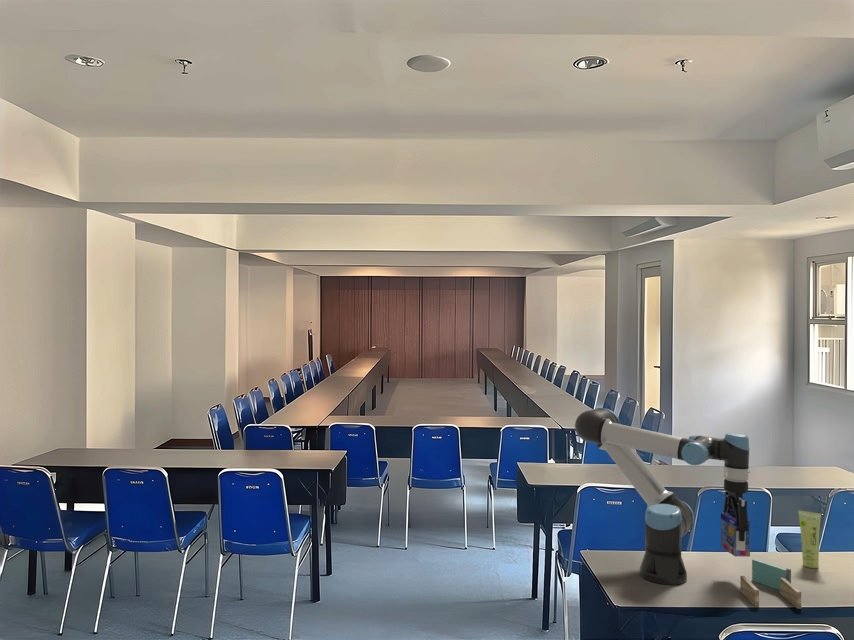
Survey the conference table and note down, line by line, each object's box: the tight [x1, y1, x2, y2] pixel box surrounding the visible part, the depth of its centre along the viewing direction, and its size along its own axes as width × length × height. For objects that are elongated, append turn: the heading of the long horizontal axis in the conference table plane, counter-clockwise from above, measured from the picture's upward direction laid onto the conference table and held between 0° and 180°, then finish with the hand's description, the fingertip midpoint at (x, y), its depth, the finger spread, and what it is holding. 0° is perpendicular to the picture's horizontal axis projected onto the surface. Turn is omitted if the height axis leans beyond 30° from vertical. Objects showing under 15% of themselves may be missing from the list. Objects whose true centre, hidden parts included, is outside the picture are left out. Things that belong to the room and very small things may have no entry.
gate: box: [751, 558, 792, 591], centre depth 217 cm, size 13×1×8 cm, turn 29°
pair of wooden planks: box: [739, 575, 802, 610], centre depth 206 cm, size 13×12×5 cm
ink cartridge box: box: [720, 508, 751, 558], centre depth 224 cm, size 10×6×14 cm, turn 5°
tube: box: [797, 509, 822, 569], centre depth 238 cm, size 6×5×20 cm
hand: (734, 545), depth 224 cm, fingers closed on ink cartridge box, 10 cm apart
